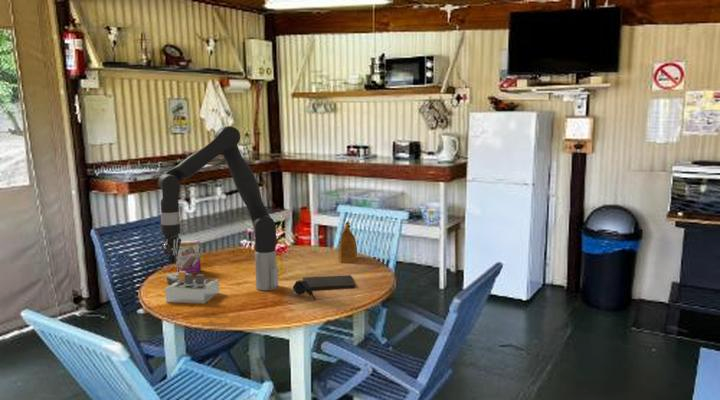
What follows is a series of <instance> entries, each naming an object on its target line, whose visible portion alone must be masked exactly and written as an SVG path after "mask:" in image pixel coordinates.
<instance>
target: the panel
mask: <svg viewBox="0 0 720 400" xmlns="http://www.w3.org/2000/svg"><path fill="white" fill-rule="evenodd" d="M193 282H195V284H196V278H193ZM204 282H206V284H205V285H204V286H202V287H201V286H195V284H193V285H192V286H184V283H177V282H175V283H173V284H170V285H169V286H167V287H165V288H164V290H165V291H164V292H165V302H166V303H178V304H179V303H181V304H182V303H184V304H203V305H204V304H206V303H207V302H208V301H210V300H211V299H212V298H214V297H215V296H216V295H218V294H219V293H220V287H219V285H220V284H219V279H216V278H215V279H213V278H211V279H210V278H204Z"/></svg>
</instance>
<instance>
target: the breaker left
mask: <svg viewBox="0 0 720 400" xmlns="http://www.w3.org/2000/svg"><path fill="white" fill-rule="evenodd" d="M195 279H196V284H195V286H201V287H202V286H204V285H205V284H206V282H204V279H205V274H203V273H202V274H201V273H197V274H196V275H195Z"/></svg>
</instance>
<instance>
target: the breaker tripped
mask: <svg viewBox="0 0 720 400" xmlns="http://www.w3.org/2000/svg"><path fill="white" fill-rule="evenodd" d="M177 273H178V278H179V280H178V281H177V283H185V275H186V271H179V272H177Z"/></svg>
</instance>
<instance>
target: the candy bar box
mask: <svg viewBox="0 0 720 400" xmlns="http://www.w3.org/2000/svg"><path fill="white" fill-rule="evenodd" d="M201 267H202V266H201V245H200V240H199V239H198V240H197V239H196V240H184V241H182V240H181V244H180V248H179V251H178V252H177V254H176V269H177V272H176V273H178V272H179V271H186V273H189V274H199V273H202V268H201ZM198 272H199V273H198Z"/></svg>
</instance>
